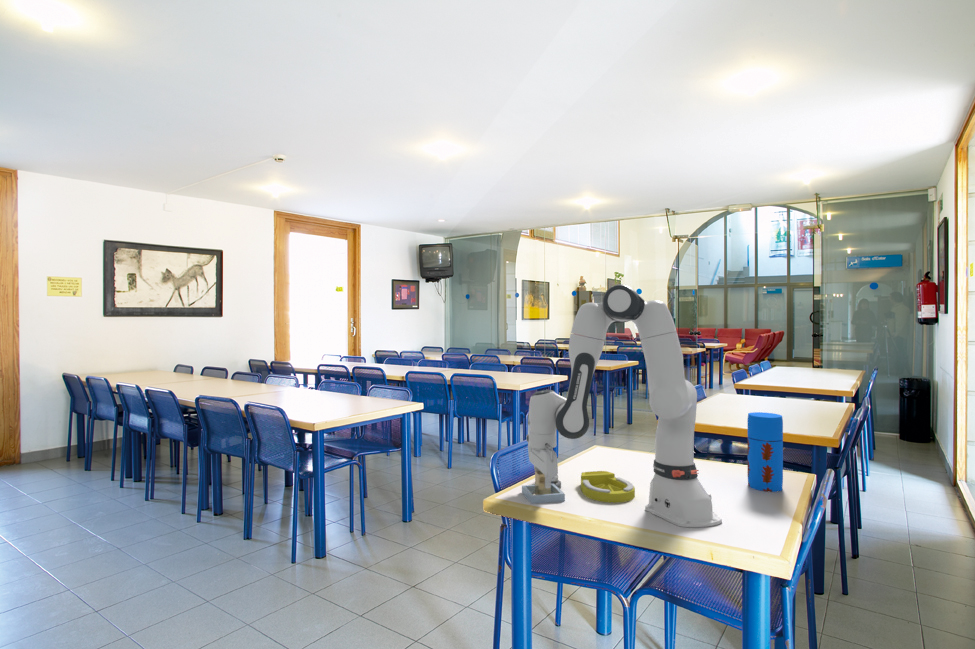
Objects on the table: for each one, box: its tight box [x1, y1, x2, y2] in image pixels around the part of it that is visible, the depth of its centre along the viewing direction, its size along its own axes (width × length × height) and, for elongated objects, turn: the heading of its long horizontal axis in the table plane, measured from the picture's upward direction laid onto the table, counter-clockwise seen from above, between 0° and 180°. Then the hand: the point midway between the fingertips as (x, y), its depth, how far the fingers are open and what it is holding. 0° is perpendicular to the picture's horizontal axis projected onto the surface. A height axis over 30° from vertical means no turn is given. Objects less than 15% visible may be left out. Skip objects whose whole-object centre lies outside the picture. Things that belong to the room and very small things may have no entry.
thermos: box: [747, 411, 784, 493], centre depth 183 cm, size 11×11×25 cm
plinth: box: [551, 479, 562, 490], centre depth 182 cm, size 6×16×2 cm, turn 102°
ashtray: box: [580, 470, 636, 504], centre depth 177 cm, size 16×21×5 cm
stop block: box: [534, 470, 552, 495], centre depth 172 cm, size 4×4×8 cm
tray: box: [521, 484, 566, 504], centre depth 173 cm, size 11×11×3 cm
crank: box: [551, 474, 559, 483], centre depth 186 cm, size 11×4×6 cm, turn 12°
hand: (542, 483), depth 173 cm, fingers open, 8 cm apart
